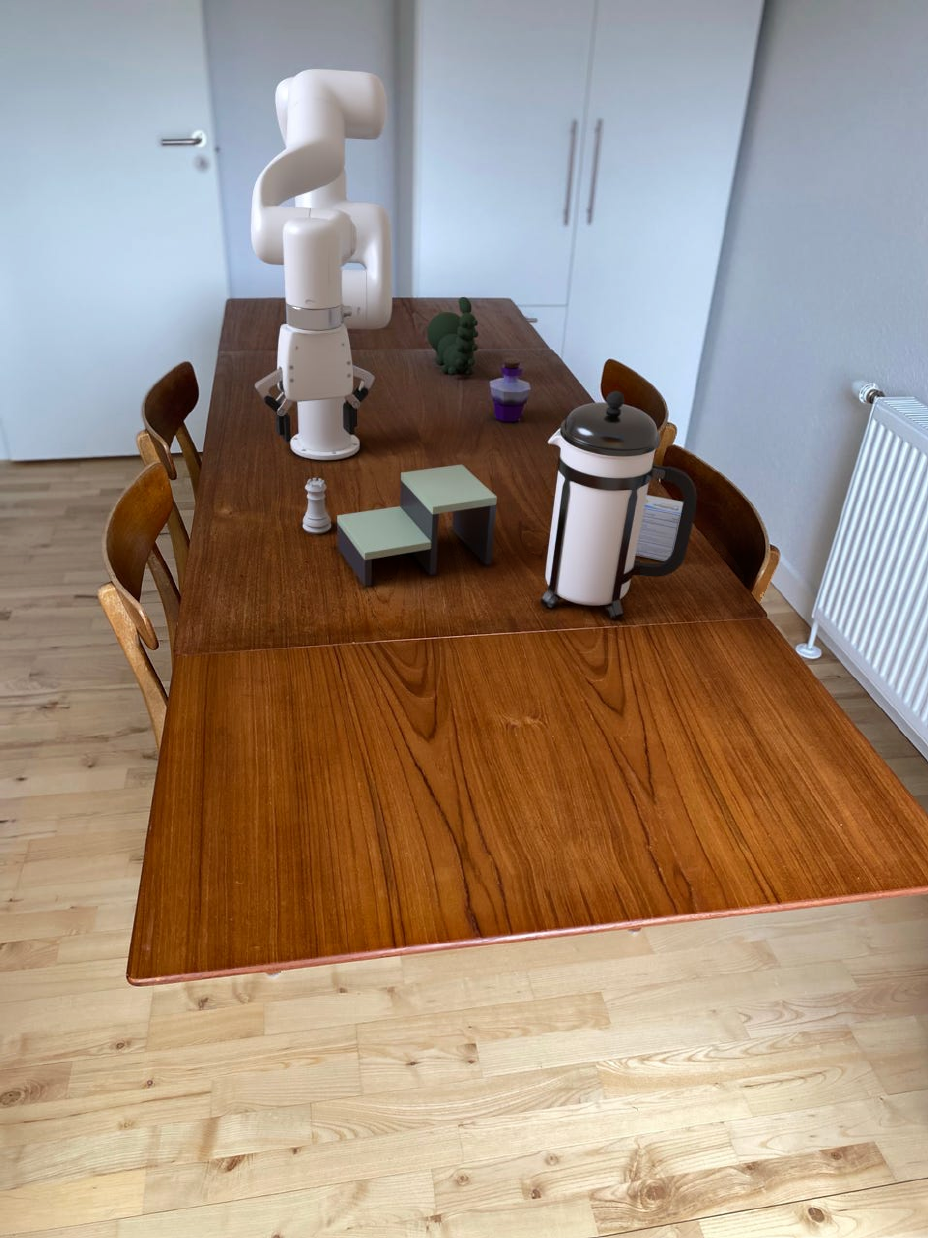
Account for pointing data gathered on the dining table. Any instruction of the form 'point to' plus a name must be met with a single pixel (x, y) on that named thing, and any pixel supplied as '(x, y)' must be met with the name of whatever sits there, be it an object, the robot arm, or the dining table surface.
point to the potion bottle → (509, 392)
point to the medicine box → (658, 528)
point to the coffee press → (607, 505)
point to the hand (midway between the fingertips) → (317, 435)
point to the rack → (421, 520)
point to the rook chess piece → (316, 508)
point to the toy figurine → (454, 339)
